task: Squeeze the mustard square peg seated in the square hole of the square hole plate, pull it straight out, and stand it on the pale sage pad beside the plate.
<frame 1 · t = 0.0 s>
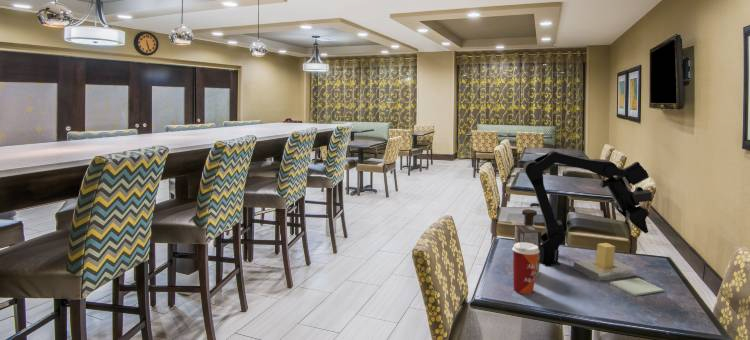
hand: (642, 228, 172), 15 cm above the table, tool tilted 35°, fingers open, 9 cm apart
peg: (605, 258, 170), in the square hole plate
square hole plate: (603, 272, 171), on the table
coffee cup: (523, 291, 155), on the table
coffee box: (525, 272, 170), on the table
pad: (636, 287, 158), on the table
bolt: (527, 246, 198), on the table
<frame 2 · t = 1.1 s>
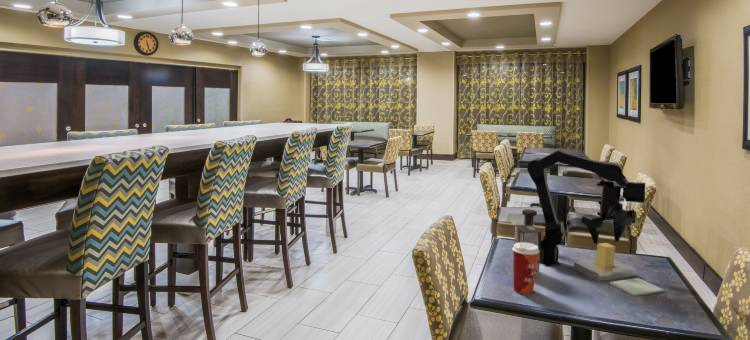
hand: (606, 242, 169), 11 cm above the table, tool pointing down, fingers open, 9 cm apart
nothing on the table moved.
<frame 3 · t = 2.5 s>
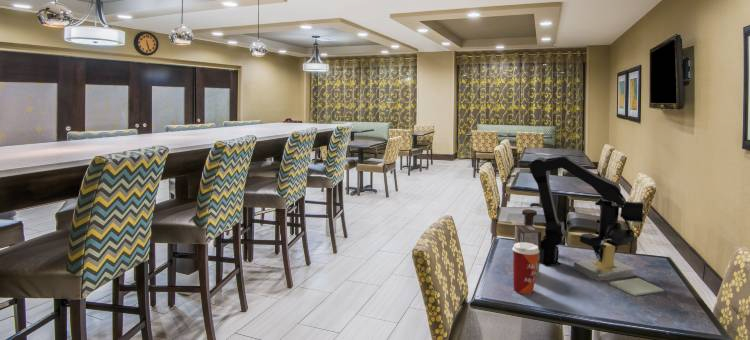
hand: (604, 261, 170), 4 cm above the table, tool pointing down, fingers closed on peg, 4 cm apart
peg: (605, 258, 170), in the square hole plate, touching gripper
everything else where it was.
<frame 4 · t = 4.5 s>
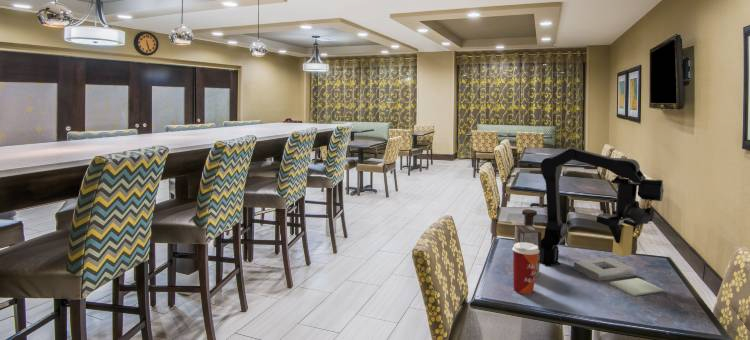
hand: (622, 242, 163), 13 cm above the table, tool pointing down, fingers closed on peg, 4 cm apart
peg: (622, 239, 163), point 14 cm above the table, touching gripper
everything else where it was.
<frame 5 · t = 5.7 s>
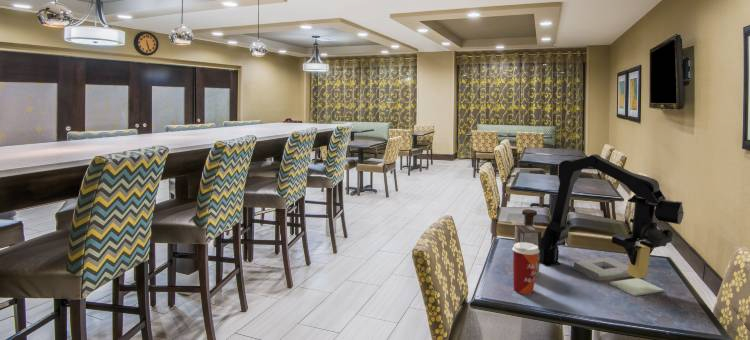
hand: (638, 263, 157), 8 cm above the table, tool pointing down, fingers closed on peg, 4 cm apart
peg: (638, 261, 157), point 9 cm above the table, touching gripper
everything else where it was.
when the fingers open (6 cm above the table, at t = 6.8 s): peg drops 1 cm, resting on pad.
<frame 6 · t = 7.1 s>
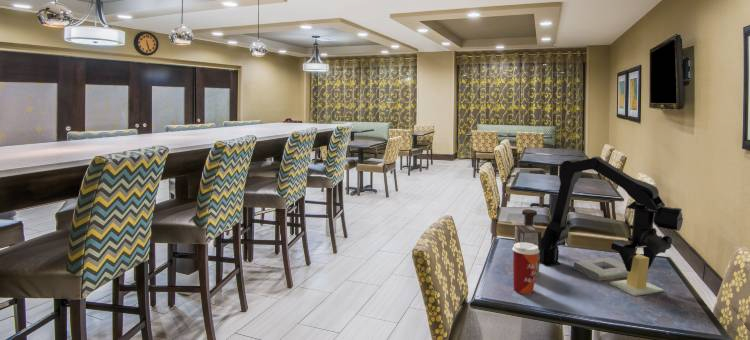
hand: (637, 270, 157), 6 cm above the table, tool pointing down, fingers open, 7 cm apart
peg: (637, 271, 157), on the pad, point 6 cm above the table
everything else where it was.
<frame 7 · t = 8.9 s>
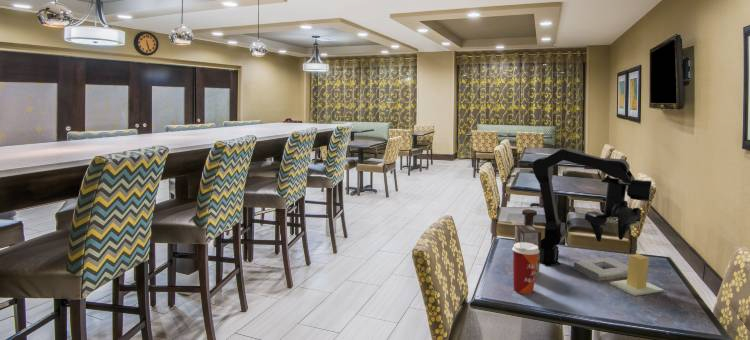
hand: (609, 240, 167), 12 cm above the table, tool pointing down, fingers open, 9 cm apart
nothing on the table moved.
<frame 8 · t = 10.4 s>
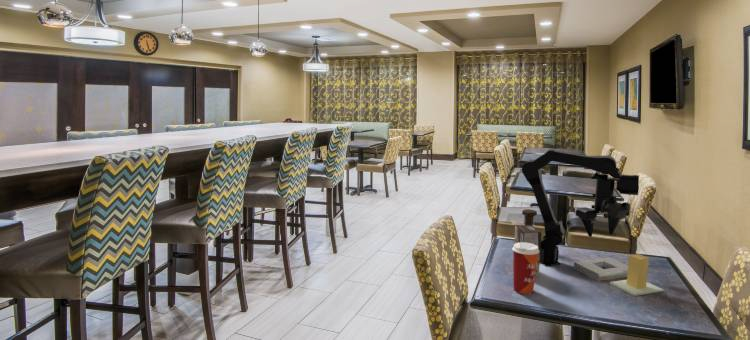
hand: (600, 235, 170), 13 cm above the table, tool pointing down, fingers open, 9 cm apart
nothing on the table moved.
at the end: peg inside the target area on the pad (0.0 cm from its centre), point 5.6 cm above the pad's base; peg tilted 0°; the gripper is holding nothing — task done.
